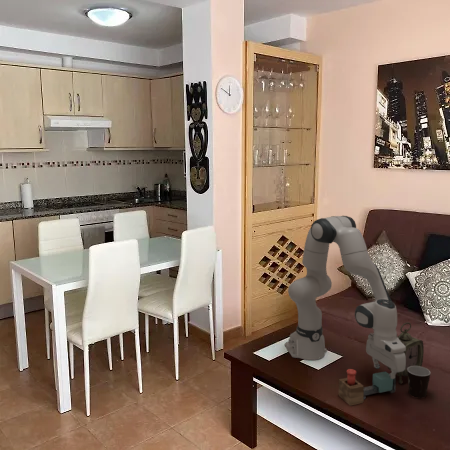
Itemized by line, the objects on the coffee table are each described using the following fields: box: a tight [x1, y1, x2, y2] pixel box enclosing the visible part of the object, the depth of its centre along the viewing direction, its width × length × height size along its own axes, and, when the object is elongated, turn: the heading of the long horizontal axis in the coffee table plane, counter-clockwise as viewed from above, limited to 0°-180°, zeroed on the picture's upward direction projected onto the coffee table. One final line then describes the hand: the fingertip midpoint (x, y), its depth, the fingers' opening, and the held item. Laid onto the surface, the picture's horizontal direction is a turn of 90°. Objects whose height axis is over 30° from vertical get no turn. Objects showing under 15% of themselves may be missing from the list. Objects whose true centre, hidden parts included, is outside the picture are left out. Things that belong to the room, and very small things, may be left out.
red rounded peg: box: [346, 368, 357, 386], centre depth 183 cm, size 4×4×6 cm
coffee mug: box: [407, 366, 431, 399], centre depth 185 cm, size 12×9×10 cm
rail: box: [363, 376, 397, 400], centre depth 188 cm, size 4×17×6 cm, turn 109°
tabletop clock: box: [387, 322, 425, 384], centre depth 199 cm, size 14×9×25 cm, turn 123°
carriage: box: [372, 371, 393, 394], centre depth 189 cm, size 5×6×6 cm
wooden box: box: [338, 377, 365, 407], centre depth 184 cm, size 8×6×7 cm
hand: (384, 372), depth 187 cm, fingers open, 8 cm apart
